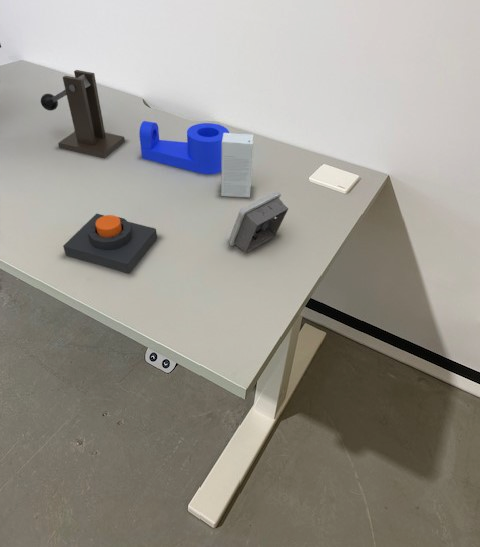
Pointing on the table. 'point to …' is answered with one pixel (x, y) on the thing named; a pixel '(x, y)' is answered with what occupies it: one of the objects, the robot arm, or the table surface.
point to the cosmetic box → (236, 164)
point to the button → (108, 226)
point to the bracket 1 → (87, 119)
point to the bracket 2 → (185, 147)
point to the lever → (57, 97)
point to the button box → (111, 245)
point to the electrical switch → (258, 222)
